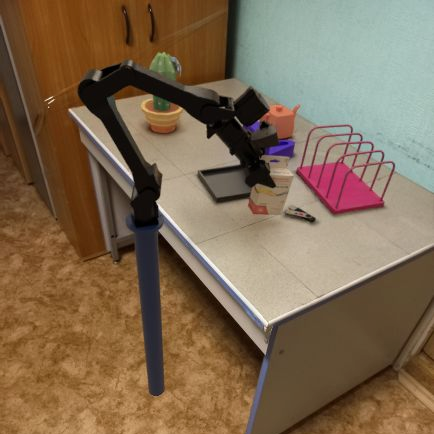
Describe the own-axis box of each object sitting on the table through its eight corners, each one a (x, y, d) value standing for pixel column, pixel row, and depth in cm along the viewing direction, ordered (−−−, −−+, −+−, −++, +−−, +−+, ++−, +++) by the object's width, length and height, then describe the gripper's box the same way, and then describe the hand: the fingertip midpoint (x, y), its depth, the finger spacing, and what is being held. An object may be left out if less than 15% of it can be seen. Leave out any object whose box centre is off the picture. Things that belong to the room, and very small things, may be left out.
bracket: (254, 169, 139) (259, 135, 131) (239, 154, 146) (243, 120, 137) (300, 160, 145) (307, 127, 137) (283, 146, 152) (289, 113, 143)
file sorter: (341, 166, 144) (354, 121, 133) (383, 207, 128) (403, 159, 117) (295, 171, 140) (305, 125, 128) (333, 215, 123) (349, 166, 112)
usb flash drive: (316, 220, 120) (316, 217, 120) (304, 227, 118) (305, 224, 117) (292, 207, 125) (293, 204, 124) (281, 213, 122) (281, 210, 121)
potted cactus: (178, 139, 150) (178, 63, 133) (136, 133, 151) (131, 57, 134) (187, 121, 161) (188, 49, 144) (148, 116, 162) (144, 43, 145)
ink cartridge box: (253, 215, 112) (267, 162, 102) (247, 206, 115) (259, 154, 106) (282, 215, 114) (298, 164, 105) (275, 206, 118) (290, 155, 109)
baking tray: (216, 203, 124) (216, 198, 122) (197, 175, 134) (197, 170, 133) (274, 193, 130) (275, 188, 128) (252, 167, 140) (252, 162, 139)
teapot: (248, 130, 159) (252, 102, 152) (287, 123, 166) (292, 96, 158) (264, 144, 152) (269, 115, 145) (305, 136, 159) (311, 108, 151)
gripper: (267, 134, 90) (306, 181, 99) (258, 99, 103) (293, 144, 112) (227, 165, 95) (267, 208, 104) (223, 128, 108) (259, 169, 117)
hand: (273, 181), depth 109 cm, fingers closed on ink cartridge box, 5 cm apart
